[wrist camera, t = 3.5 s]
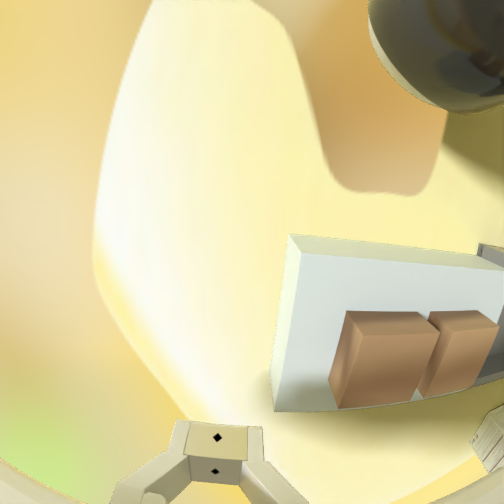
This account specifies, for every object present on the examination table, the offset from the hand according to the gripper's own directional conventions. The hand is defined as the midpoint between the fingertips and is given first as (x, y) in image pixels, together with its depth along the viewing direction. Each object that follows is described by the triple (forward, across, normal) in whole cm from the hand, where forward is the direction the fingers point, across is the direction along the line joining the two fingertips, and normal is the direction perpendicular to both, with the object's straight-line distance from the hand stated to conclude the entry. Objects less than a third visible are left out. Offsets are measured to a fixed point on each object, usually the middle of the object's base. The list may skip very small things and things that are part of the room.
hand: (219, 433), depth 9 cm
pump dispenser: (+10, -11, -20) cm, 25 cm away
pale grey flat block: (+10, -11, 0) cm, 15 cm away
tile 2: (+6, -14, 0) cm, 15 cm away
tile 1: (+6, -8, 0) cm, 10 cm away
